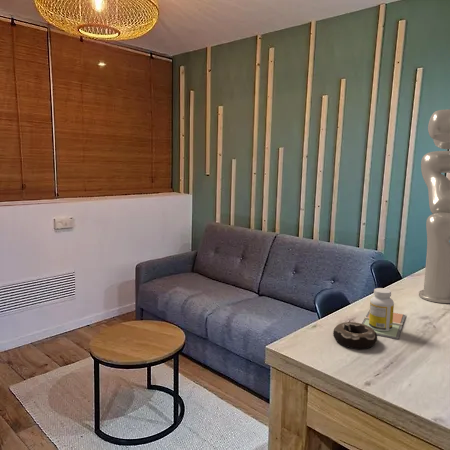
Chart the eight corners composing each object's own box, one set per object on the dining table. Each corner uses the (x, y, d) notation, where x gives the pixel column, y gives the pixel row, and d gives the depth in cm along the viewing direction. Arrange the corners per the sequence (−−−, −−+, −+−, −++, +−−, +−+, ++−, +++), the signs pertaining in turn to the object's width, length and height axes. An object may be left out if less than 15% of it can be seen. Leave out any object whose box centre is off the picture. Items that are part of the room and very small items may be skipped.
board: (370, 309, 133) (370, 307, 133) (405, 316, 128) (405, 313, 127) (357, 331, 116) (358, 328, 116) (398, 339, 110) (398, 336, 110)
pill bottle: (387, 323, 120) (390, 287, 118) (395, 332, 114) (398, 294, 112) (366, 323, 121) (368, 286, 119) (372, 331, 114) (374, 293, 112)
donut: (381, 339, 111) (382, 325, 111) (370, 355, 102) (371, 341, 101) (340, 329, 118) (341, 317, 117) (327, 344, 108) (327, 330, 107)
